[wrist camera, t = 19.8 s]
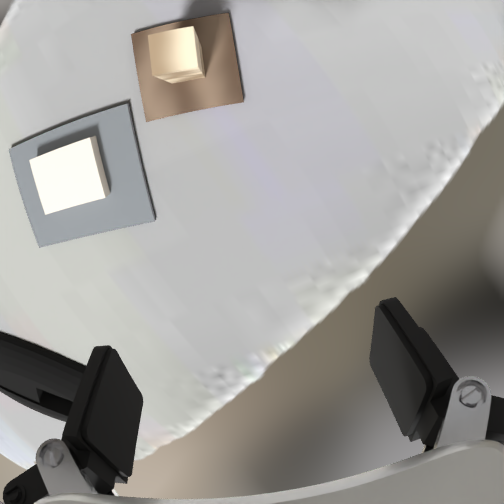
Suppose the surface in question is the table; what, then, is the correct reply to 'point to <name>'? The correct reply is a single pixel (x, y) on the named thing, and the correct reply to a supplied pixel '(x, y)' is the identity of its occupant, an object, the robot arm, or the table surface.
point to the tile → (70, 176)
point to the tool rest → (198, 90)
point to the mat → (116, 171)
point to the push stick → (176, 55)
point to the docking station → (38, 377)
